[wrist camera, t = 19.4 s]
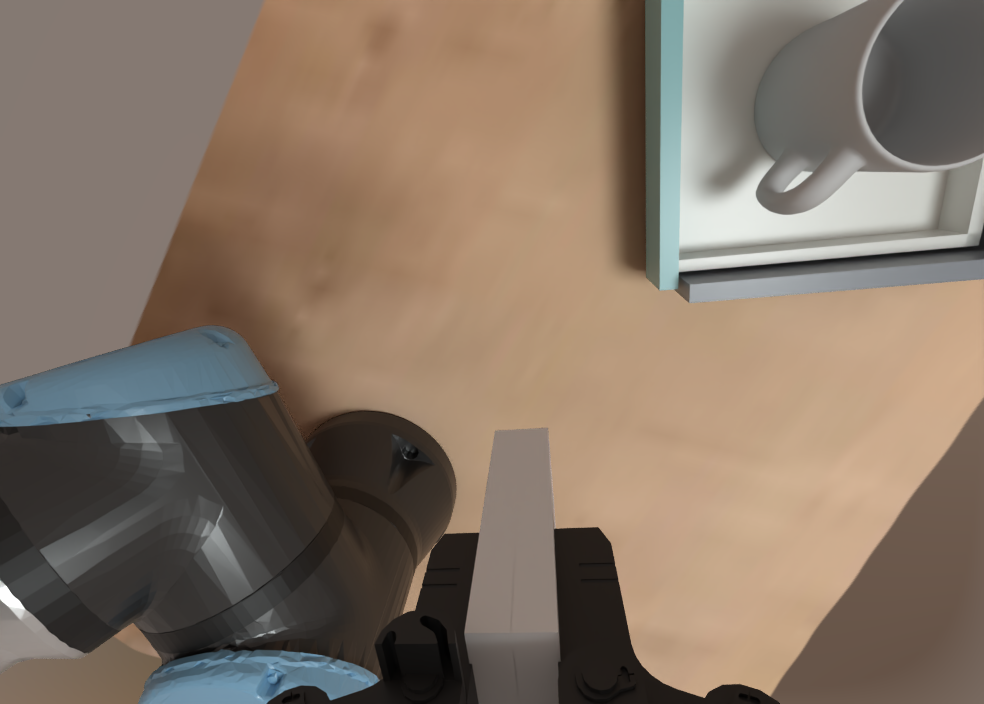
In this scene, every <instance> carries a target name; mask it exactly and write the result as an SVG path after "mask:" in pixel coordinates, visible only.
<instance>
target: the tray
mask: <svg viewBox="0 0 984 704" xmlns="http://www.w3.org/2000/svg"><path fill="white" fill-rule="evenodd" d="M865 1H867V0H645V87H646V277H647V278H648V279H649V280H650V281H651V282H652V283H653V284H654V285H655V286H656V287H657V288H658V289H659V290H672V289H678V282H679V272H685V271H697V270H708V269H719V268H731V267H742V266H753V265H764V264H776V263H787V262H798V261H809V260H821V259H832V258H843V257H854V256H866V255H877V254H888V253H899V252H911V251H922V250H933V249H944V248H956V247H967V246H978V245H979V243H980V238H981V234H982V229H983V225H984V158H981V159H979V160H977V161H975V162H973V163H970V164H967V165H964V166H961V167H958V168H954V169H950V170H945V171H938V172H925V173H913V172H855V173H854V174H853V175H852V176H851V177H850V178H849V179H848V180H847V181H846V182H845V183H844V184H843V185H842V186H841V187H840V188H839V189H838V190H837V191H836V192H835V193H834V194H833V195H831V196H830V197H829V198H828V199H827V200H826V201H824V202H823V203H821V204H820V205H818V206H817V207H815V208H813V209H811V210H808V211H806V212H803V213H798V214H793V215H781V214H777V213H773V212H770V211H769V210H767V209H766V208H764V207H762V205H761V204H760V203H759V202H758V200H757V198H756V190H757V187H758V185H759V183H760V181H761V180H762V178H763V177H764V175H765V174H766V173H767V172H768V170H769V169H770V168H771V167H772V166H773V164H774V163H775V162H776V160H775V159H774V158H773V157H772V156H771V155H770V154H769V153H768V152H767V151H766V150H765V148H764V147H763V146H762V144H761V142H760V140H759V137H758V134H757V131H756V127H755V122H754V106H755V99H756V94H757V91H758V88H759V84H760V82H761V80H762V77H763V75H764V73H765V72H766V70H767V68H768V66H769V65H770V63H771V62H772V61H773V59H774V58H775V57H776V55H777V54H778V53H779V52H780V51H781V50H782V49H783V48H784V47H785V46H786V45H787V44H788V43H789V42H790V41H791V40H793V39H794V38H795V37H797V36H798V35H800V34H801V33H803V32H804V31H806V30H808V29H810V28H812V27H813V26H815V25H817V24H820V23H822V22H824V21H826V20H829V19H831V18H833V17H835V16H837V15H839V14H841V13H843V12H845V11H847V10H850V9H852V8H853V7H855V6H857V5H859V4H861V3H863V2H865ZM812 173H813V172H806V171H802V172H801V173H800V174H799V175H798V176H797V177H796V178H795V179H794V180H793V181H792V182H791V183H790V184H789V185H788V187H787V188H786V189H785V190H784V192H785V191H788V190H791V189H793V188H795V187H796V186H798V185H799V184H800V183H802V182H803V181H804V180H805V179H806V178H808V177H809V176H810V175H811V174H812Z"/></svg>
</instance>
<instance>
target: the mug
mask: <svg viewBox="0 0 984 704" xmlns="http://www.w3.org/2000/svg"><path fill="white" fill-rule="evenodd" d="M754 122H755V127H756V131H757V134H758V137H759V140H760V142H761V144H762V146H763V147H764V148H765V150H766V151H767V152H768V153H769V154H770V155H771V156H772V157H773V158H774V159H775V160H776V162H775V163H774V164H773V166H772V167H771V168H770V169H769V170H768V172H767V173H766V174H765V175H764V177H763V178H762V180H761V181H760V183H759V185H758V187H757V190H756V198H757V200H758V202H759V203H760V204H761V205H762V207H764V208H766V209H767V210H769V211H770V212H773V213H777V214H781V215H793V214H798V213H803V212H806V211H808V210H811V209H813V208H815V207H817V206H818V205H820V204H821V203H823V202H824V201H826V200H827V199H828V198H829V197H830V196H831V195H833V194H834V193H835V192H836V191H837V190H838V189H839V188H840V187H841V186H842V185H843V184H844V183H845V182H846V181H847V180H848V179H849V178H850V177H851V176H852V175H853V174H854V173H855V172H913V173H925V172H938V171H945V170H950V169H954V168H958V167H961V166H964V165H967V164H970V163H973V162H975V161H977V160H979V159H981V158H984V0H867V1H865V2H863V3H861V4H859V5H857V6H855V7H853V8H852V9H850V10H847V11H845V12H843V13H841V14H839V15H837V16H835V17H833V18H831V19H829V20H826V21H824V22H822V23H820V24H817V25H815V26H813V27H812V28H810V29H808V30H806V31H804V32H803V33H801V34H800V35H798V36H797V37H795V38H794V39H793V40H791V41H790V42H789V43H788V44H787V45H786V46H785V47H784V48H783V49H782V50H781V51H780V52H779V53H778V54H777V55H776V57H775V58H774V59H773V61H772V62H771V63H770V65H769V66H768V68H767V70H766V72H765V73H764V75H763V77H762V80H761V82H760V84H759V88H758V91H757V94H756V99H755V106H754ZM802 171H806V172H813V173H812V174H811V175H810V176H809V177H808V178H806V179H805V180H804V181H803V182H802V183H800V184H799V185H798V186H796V187H795V188H793V189H791V190H788V191H785V192H784V190H785V189H786V188H787V187H788V185H789V184H790V183H791V182H792V181H793V180H794V179H795V178H796V177H797V176H798V175H799V174H800V173H801V172H802Z"/></svg>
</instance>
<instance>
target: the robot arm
mask: <svg viewBox="0 0 984 704" xmlns="http://www.w3.org/2000/svg"><path fill="white" fill-rule="evenodd" d="M278 390H279V387H278V384H277V383H276V382H275V381H272V380H270V378H269V377H268V375H267V374H266V372H265V370H264V369H263V367H262V366H261V364H260V363H259V361H258V360H257V358H256V356H255V355H254V353H253V352H252V350H251V348H250V347H249V345H248V344H247V342H246V341H245V340H244V338H243V337H242V336H240V335H239V334H238V333H237V332H235V331H233V330H231V329H229V328H226V327H222V326H215V325H208V326H202V327H197V328H193V329H189V330H186V331H182V332H178V333H175V334H171V335H168V336H164V337H161V338H157V339H153V340H150V341H147V342H143V343H140V344H137V345H133V346H129V347H126V348H122V349H119V350H115V351H112V352H108V353H105V354H102V355H98V356H95V357H92V358H88V359H85V360H81V361H78V362H75V363H71V364H68V365H64V366H61V367H57V368H55V369H52V370H48V371H45V372H42V373H38V374H35V375H32V376H28V377H25V378H22V379H18V380H15V381H12V382H8V383H5V384H1V385H0V674H1V673H3V672H4V671H6V670H7V669H9V668H10V667H11V666H13V665H15V664H16V663H18V662H22V661H26V660H30V659H34V658H40V659H43V658H44V659H47V658H49V659H78V658H83V657H84V656H86V655H87V654H89V653H90V652H92V651H93V650H94V649H95V648H97V647H99V646H100V645H101V644H103V643H104V642H105V641H107V640H108V639H110V638H111V637H112V636H114V635H115V634H117V633H118V632H119V631H121V630H122V629H124V628H125V627H127V626H128V625H130V624H132V623H134V624H135V625H136V626H137V627H138V629H140V630H141V632H142V633H143V634H144V636H145V637H146V638H147V639H148V641H149V642H150V643H151V645H152V647H153V648H154V649H155V650H156V651H157V653H158V654H159V656H160V657H161V659H162V666H160V667H159V668H158V669H157V670H155V671H154V672H153V673H152V674H151V675H150V677H149V678H148V679H147V681H146V682H145V686H144V691H143V694H142V695H141V697H140V700H139V703H138V704H780V703H779V702H778V701H776V700H774V699H773V698H771V697H770V696H768V695H767V694H765V693H763V692H762V691H760V690H758V689H754V688H751V687H748V686H744V685H741V684H732V685H721V686H719V687H717V688H715V689H713V690H712V691H710V692H708V694H707V696H706V697H705V698H703V697H700V696H696V695H693V694H690V693H687V692H684V691H681V690H678V689H675V688H673V687H670V686H668V685H666V684H663V683H662V682H660V681H659V680H658V679H656V678H655V677H653V676H652V675H651V674H650V673H649V672H648V671H647V670H646V669H645V668H644V667H643V666H642V665H641V664H640V662H639V660H638V659H637V657H636V656H635V653H634V651H633V648H632V645H631V640H630V635H629V630H628V625H627V620H626V615H625V610H624V605H623V601H622V596H621V591H620V586H619V582H618V576H617V571H616V566H615V561H614V556H613V551H612V546H611V543H610V542H609V540H608V539H607V538H606V536H605V535H604V534H603V533H602V531H601V530H600V529H599V528H598V527H593V528H563V529H556V527H555V510H554V497H553V484H552V471H551V459H550V446H549V434H548V428H535V429H517V430H499V431H495V434H494V441H493V447H492V454H491V461H490V467H489V474H488V480H487V487H486V493H485V500H484V507H483V513H482V520H481V526H480V533H457V534H444V532H445V531H446V529H447V527H448V524H449V522H450V519H451V516H452V512H453V508H454V504H455V499H456V479H455V474H454V471H453V468H452V465H451V463H450V461H449V459H448V457H447V455H446V454H445V452H444V451H443V449H442V448H441V447H440V445H439V444H438V443H437V442H436V441H435V440H434V439H433V438H432V437H431V436H430V435H429V434H427V433H426V432H425V431H424V430H422V429H421V428H419V427H418V426H416V425H414V424H413V423H411V422H409V421H407V420H404V419H402V418H399V417H397V416H393V415H390V414H386V413H380V412H369V411H364V412H353V413H348V414H344V415H340V416H337V417H335V418H333V419H331V420H329V421H327V422H325V423H324V424H322V425H321V426H320V427H318V428H317V429H316V430H315V431H314V432H313V433H312V434H311V435H310V437H309V438H308V439H307V440H306V441H305V440H304V439H303V437H302V435H301V433H300V431H299V430H298V428H297V426H296V424H295V422H294V421H293V419H292V417H291V415H290V414H289V412H288V410H287V408H286V406H285V405H284V403H283V401H282V399H281V397H280V396H279V394H278V392H277V391H278ZM443 534H444V535H443ZM442 535H443V536H442ZM441 537H442V538H441ZM440 538H441V539H440ZM437 542H438V543H437ZM436 543H437V544H436ZM435 544H436V545H435ZM434 545H435V546H434ZM433 546H434V548H433V549H432V547H433ZM431 549H432V550H431ZM430 550H431V554H430V558H429V561H428V565H427V572H426V573H425V576H424V580H423V584H422V588H421V591H420V595H419V598H418V602H417V606H416V609H415V611H410V612H407V613H405V614H403V611H404V607H405V604H406V600H407V597H408V593H409V590H410V587H411V583H412V579H413V576H414V573H415V569H416V567H417V566H418V565H419V564H420V563H421V561H422V560H423V559H424V558H425V556H426V555H427V554H428V552H429V551H430ZM402 614H403V615H402Z"/></svg>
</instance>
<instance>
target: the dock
mask: <svg viewBox="0 0 984 704" xmlns="http://www.w3.org/2000/svg"><path fill="white" fill-rule="evenodd" d="M978 279H984V225H983V229H982V234H981V238H980V243H979V245H978V246H967V247H956V248H944V249H933V250H922V251H911V252H899V253H888V254H877V255H866V256H854V257H843V258H832V259H821V260H809V261H798V262H787V263H776V264H764V265H753V266H742V267H731V268H719V269H708V270H697V271H685V272H679V282H678V289H674V290H675V291H676V292H677V293H678V294H680V295H681V296H682V297H683V298H684V299H685V300H686V301H688V302H689V303H697V302H709V301H722V300H734V299H746V298H758V297H771V296H783V295H795V294H807V293H819V292H832V291H844V290H856V289H868V288H881V287H893V286H905V285H917V284H929V283H942V282H954V281H966V280H978Z"/></svg>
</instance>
